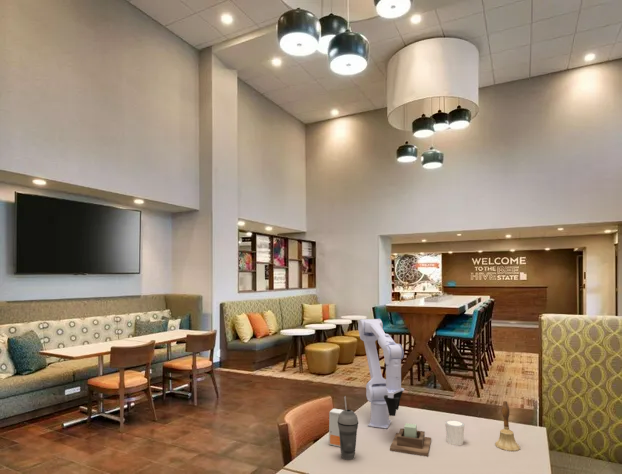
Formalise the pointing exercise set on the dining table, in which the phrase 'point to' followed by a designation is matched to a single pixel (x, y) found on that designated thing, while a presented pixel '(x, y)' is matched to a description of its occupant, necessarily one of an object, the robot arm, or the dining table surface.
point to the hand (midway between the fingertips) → (393, 412)
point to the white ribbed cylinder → (454, 432)
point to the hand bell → (506, 433)
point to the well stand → (411, 443)
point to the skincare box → (334, 427)
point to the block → (410, 430)
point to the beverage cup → (347, 432)
